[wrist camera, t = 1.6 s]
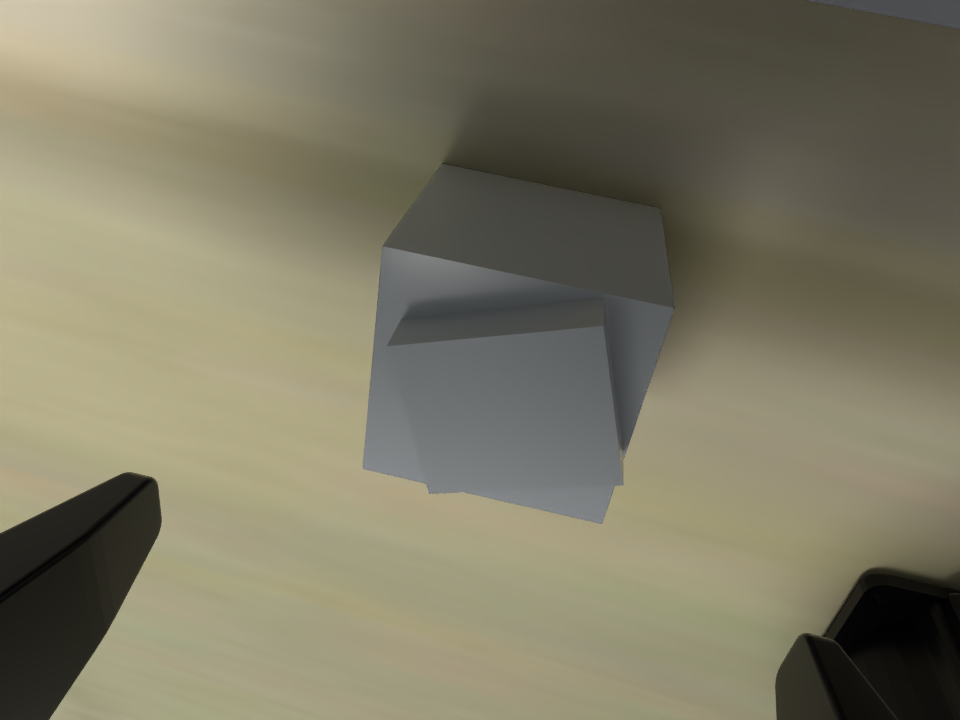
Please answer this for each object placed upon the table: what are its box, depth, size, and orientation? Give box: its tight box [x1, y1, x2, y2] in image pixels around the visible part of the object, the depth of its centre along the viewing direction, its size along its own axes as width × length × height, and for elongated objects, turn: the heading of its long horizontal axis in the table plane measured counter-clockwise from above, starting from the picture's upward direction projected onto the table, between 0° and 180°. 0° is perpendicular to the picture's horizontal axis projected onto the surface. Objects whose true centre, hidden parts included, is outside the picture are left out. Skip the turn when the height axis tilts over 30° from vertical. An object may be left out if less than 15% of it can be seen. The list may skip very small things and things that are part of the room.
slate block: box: [363, 164, 674, 524], centre depth 15 cm, size 5×5×6 cm
